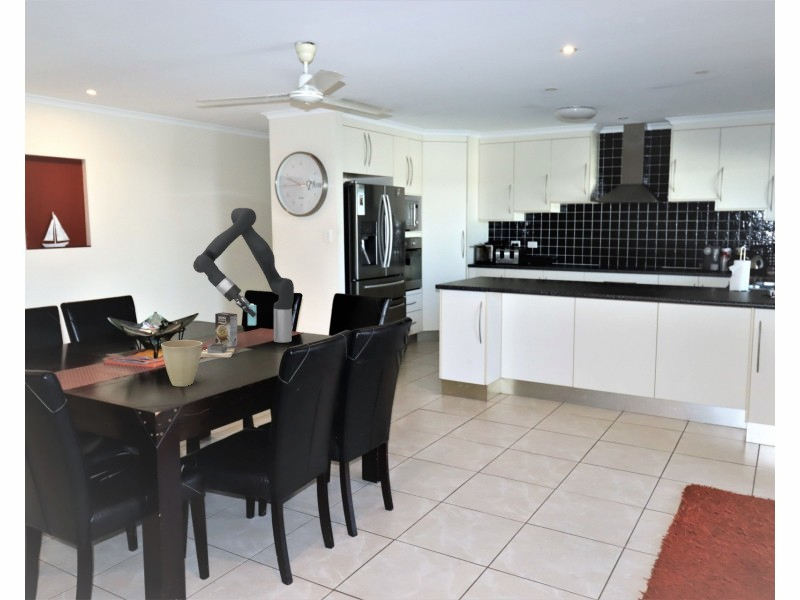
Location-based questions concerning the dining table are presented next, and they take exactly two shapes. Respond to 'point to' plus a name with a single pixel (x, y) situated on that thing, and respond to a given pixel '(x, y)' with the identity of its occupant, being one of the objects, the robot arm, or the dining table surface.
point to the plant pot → (182, 360)
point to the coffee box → (226, 328)
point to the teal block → (251, 319)
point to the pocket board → (218, 350)
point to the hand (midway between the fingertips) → (255, 314)
